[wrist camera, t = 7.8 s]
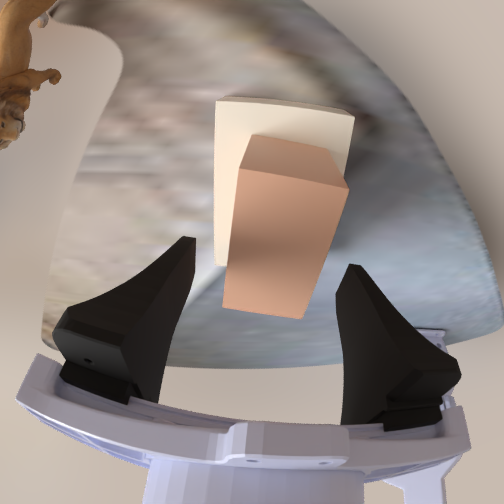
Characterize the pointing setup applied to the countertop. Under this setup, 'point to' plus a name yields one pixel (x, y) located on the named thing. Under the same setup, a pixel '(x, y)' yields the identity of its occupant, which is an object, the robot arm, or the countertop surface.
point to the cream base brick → (269, 125)
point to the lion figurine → (19, 64)
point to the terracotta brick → (281, 226)
